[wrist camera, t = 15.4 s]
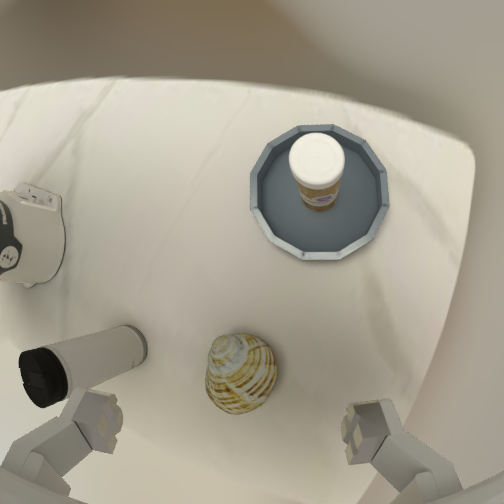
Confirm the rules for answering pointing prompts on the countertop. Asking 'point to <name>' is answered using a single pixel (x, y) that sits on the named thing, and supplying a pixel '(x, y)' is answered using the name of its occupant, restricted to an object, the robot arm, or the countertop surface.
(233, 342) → the seashell
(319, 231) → the slate bowl
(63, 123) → the countertop surface
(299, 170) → the sprinkles bottle
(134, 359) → the travel mug
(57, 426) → the robot arm
